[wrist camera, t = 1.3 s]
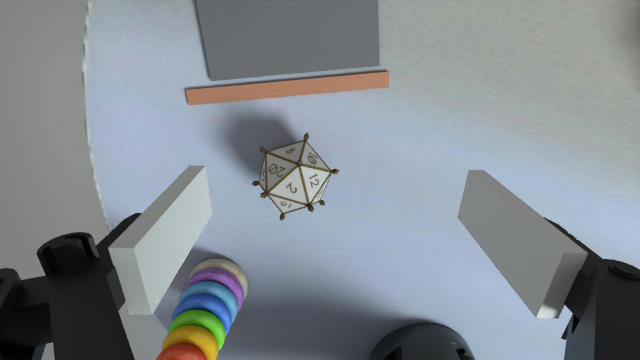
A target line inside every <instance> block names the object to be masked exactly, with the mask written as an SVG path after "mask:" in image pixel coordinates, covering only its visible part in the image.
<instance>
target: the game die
mask: <svg viewBox="0 0 640 360" xmlns="http://www.w3.org/2000/svg"><path fill="white" fill-rule="evenodd" d="M308 137H309V135H308V132H307V133H306V134H305V135H304V137H303V138H304V140H303V141H299V142H296V143H292V144H289V145H286V146H282V147H279V148H275V149H272V150H269V151H266V149H265V148H264V147H261V146H259V147H260V151H262V152H263V153H265V155H264V160H263V164H262V169H261V173H260V178H259V181H254V182H253V183H252V185H254V186H256V185H260V186H261V188H262V189H263V190H264V192H263V193H261V196H260V197H263V198H265V197H267V196H268V197H269V198H270V199H271V200H272V202H273V203H274V204H275V205H276V207H277V208H278V209H279V210H280V211H281V213H282V214H281V215H280V217H279V218H280V220H281V221H282V220H283V219H285V218H284V217H285V214H286V213H289V212H293V211H296V210H299V209H302V208H306V207H308V209H309V211H311V212H313V210H314V208H313V206H312V205H313V204H315V203H317V202H319V203H320V204H321V205H325V203H324V201H323V200H321V198H322V195H323V193H324V190H325V188H326V185H327V183H328V181H329V178H330V176H331V174H332V173H333V174H337V173H338V172H339V171H340V170H337V169H333V170H330V168H329V167H328V166H327V165H326V164H325V162H324V161H323V160H322V159H321V158H320V156H319V155H318V154H317V153H316V152H315V151H314V149H313V148H312V147H311V146H310V145H309V143H308V142H307V139H308Z"/></svg>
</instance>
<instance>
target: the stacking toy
mask: <svg viewBox="0 0 640 360" xmlns="http://www.w3.org/2000/svg"><path fill="white" fill-rule="evenodd" d="M247 293H248V280H247V277H246V275H245V273H244V272H243V271H242V270H241V268H240V267H238V266H237V265H236V264H234V263H233V262H231V261H228V260H225V259H209V260H205V261H203V262H201V263H199V264H198V265H196V266H195V267H194V268H193V269H192V271H191V272H190V274H189V276H188V279H187V282H186V284H185V287H184V290H183V293H182V295H181V296H180V298H179V301H178V306H177V307H176V309H175V311H174V314H173V319H172V323H171V325H170V327H169V330H168V336H167V337H166V339H165V340H164V343H163V347H162V352H161V353H160V355H159V356H158V357H157V359H156V360H216V358H217V356H218V351H219V350H220V349H221V347H222V346H223V344H224V341H225V336H226V335H227V334H228V332H229V330H230V328H231V324H232V323H233V322H234V320H235V318H236V316H237V313H238V312H239V310H240V309H241V307H242V305H243V301H244V300H245V298H246V296H247Z"/></svg>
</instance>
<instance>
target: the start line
mask: <svg viewBox="0 0 640 360" xmlns="http://www.w3.org/2000/svg"><path fill="white" fill-rule="evenodd" d="M385 87H389V72H378V73H367V74H356V75H345V76H334V77H323V78H312V79H301V80H291V81H280V82H269V83H258V84H247V85H236V86H225V87H214V88H203V89H192V90H186V94H187V99H188V104H189V105H196V104H207V103H218V102H229V101H240V100H251V99H263V98H274V97H285V96H296V95H307V94H318V93H329V92H340V91H351V90H362V89H374V88H385Z"/></svg>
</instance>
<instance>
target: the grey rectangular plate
mask: <svg viewBox="0 0 640 360" xmlns="http://www.w3.org/2000/svg"><path fill="white" fill-rule="evenodd" d="M196 4H197V9H198V14H199V20H200V25H201V30H202V36H203V41H204V46H205V51H206V57H207V62H208V67H209V73H210V78H211V81H216V80H227V79H238V78H248V77H259V76H270V75H281V74H292V73H303V72H314V71H325V70H336V69H347V68H358V67H369V66H379V29H378V0H196Z"/></svg>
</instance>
